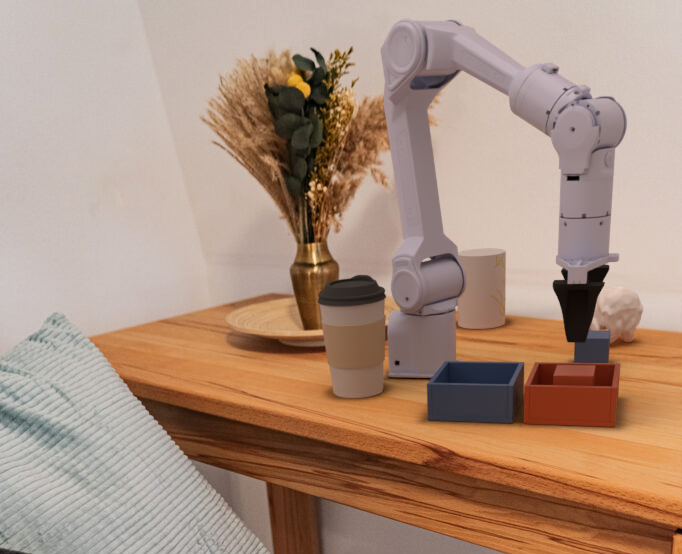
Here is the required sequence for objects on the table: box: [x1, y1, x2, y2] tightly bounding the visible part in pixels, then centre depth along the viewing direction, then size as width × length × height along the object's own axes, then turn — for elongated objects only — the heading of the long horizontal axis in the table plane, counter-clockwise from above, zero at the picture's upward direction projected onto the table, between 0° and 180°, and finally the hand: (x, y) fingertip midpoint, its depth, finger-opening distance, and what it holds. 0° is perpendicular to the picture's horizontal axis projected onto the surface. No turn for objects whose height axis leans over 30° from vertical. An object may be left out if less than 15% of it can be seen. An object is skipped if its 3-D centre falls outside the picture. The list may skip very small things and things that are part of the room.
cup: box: [457, 247, 507, 330], centre depth 144 cm, size 8×8×12 cm
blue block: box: [573, 330, 611, 363], centre depth 117 cm, size 4×4×4 cm
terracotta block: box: [553, 365, 596, 386], centre depth 100 cm, size 4×4×4 cm
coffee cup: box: [317, 274, 387, 399], centre depth 112 cm, size 9×9×15 cm
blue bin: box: [426, 360, 525, 424], centre depth 104 cm, size 10×10×5 cm
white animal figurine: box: [589, 285, 644, 345], centre depth 129 cm, size 6×8×12 cm
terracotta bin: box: [523, 361, 621, 428], centre depth 100 cm, size 10×10×5 cm
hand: (579, 333), depth 101 cm, fingers open, 7 cm apart
